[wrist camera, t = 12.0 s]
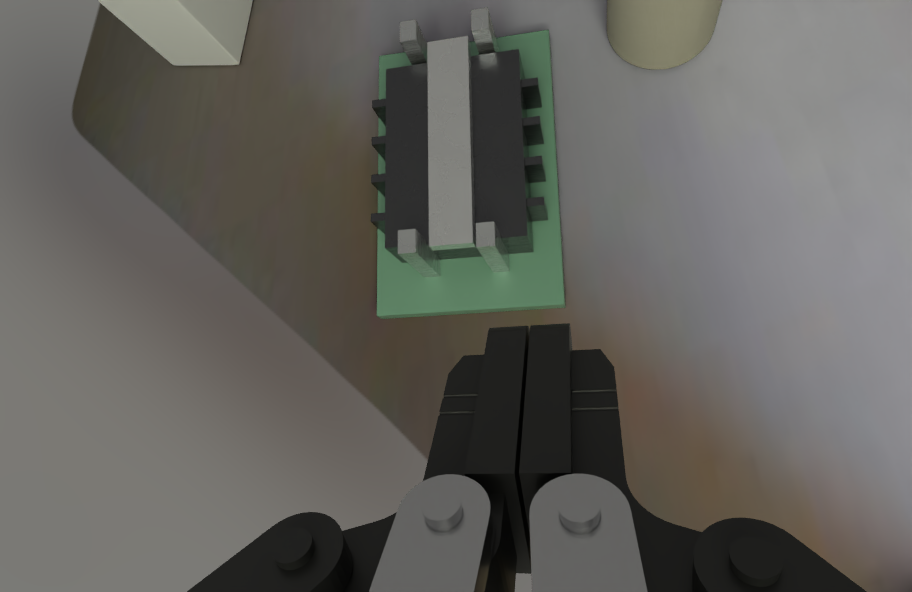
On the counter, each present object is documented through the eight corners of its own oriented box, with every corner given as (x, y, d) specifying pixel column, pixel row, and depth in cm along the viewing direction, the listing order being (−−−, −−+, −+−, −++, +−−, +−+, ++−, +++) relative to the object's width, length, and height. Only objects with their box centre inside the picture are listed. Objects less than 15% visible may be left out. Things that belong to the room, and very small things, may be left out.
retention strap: (475, 247, 42) (472, 242, 41) (432, 250, 42) (428, 246, 42) (470, 44, 45) (467, 35, 44) (430, 50, 46) (427, 42, 45)
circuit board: (383, 64, 53) (379, 56, 52) (549, 38, 50) (548, 29, 49) (382, 318, 48) (376, 316, 47) (565, 307, 45) (564, 304, 44)
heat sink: (388, 75, 51) (358, 25, 45) (539, 52, 48) (530, -4, 42) (387, 280, 47) (354, 257, 41) (551, 268, 45) (543, 241, 38)
